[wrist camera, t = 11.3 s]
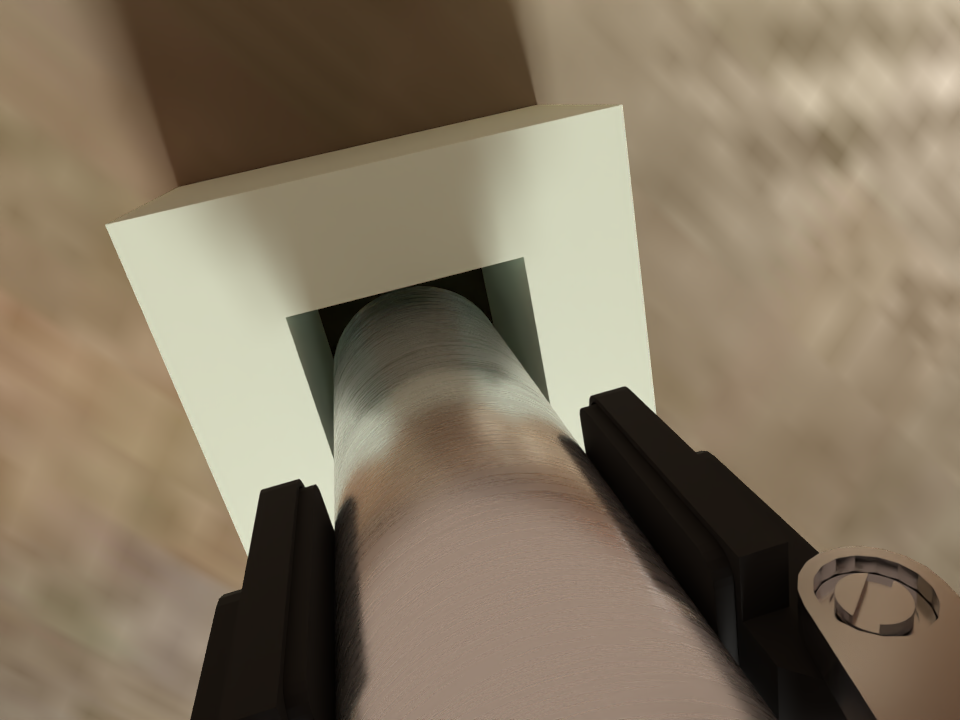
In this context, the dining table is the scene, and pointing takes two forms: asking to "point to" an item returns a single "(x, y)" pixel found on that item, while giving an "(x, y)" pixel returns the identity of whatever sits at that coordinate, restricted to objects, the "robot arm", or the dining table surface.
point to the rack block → (388, 276)
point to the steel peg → (493, 545)
